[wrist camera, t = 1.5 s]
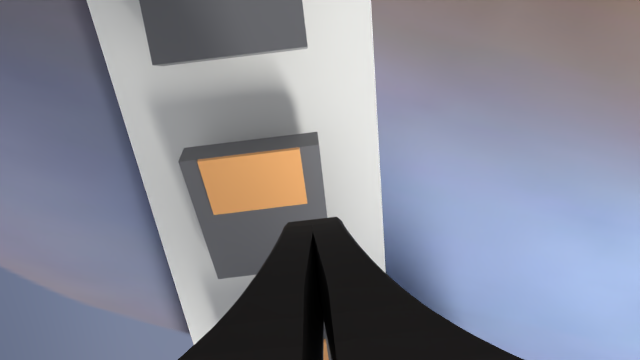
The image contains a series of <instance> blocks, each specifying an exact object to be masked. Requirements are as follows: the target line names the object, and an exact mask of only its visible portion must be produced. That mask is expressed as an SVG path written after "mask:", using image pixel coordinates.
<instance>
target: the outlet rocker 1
mask: <svg viewBox="0 0 640 360" xmlns="http://www.w3.org/2000/svg"><path fill="white" fill-rule="evenodd" d="M139 3H140V7H141V12H142V17H143V22H144V27H145V32H146V36H147V41H148V46H149V51H150V56H151V61H152V65H155V66H168V65H177V64H185V63H193V62H202V61H210V60H218V59H227V58H235V57H243V56H251V55H260V54H268V53H276V52H285V51H293V50H301V49H308V45H307V37H306V28H305V20H304V11H303V3H302V0H139Z"/></svg>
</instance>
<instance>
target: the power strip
mask: <svg viewBox="0 0 640 360" xmlns="http://www.w3.org/2000/svg"><path fill="white" fill-rule="evenodd" d="M87 3H88V7H89V10H90V13H91V16H92V19H93V23H94V26H95V29H96V32H97V36H98V39H99V42H100V45H101V48H102V52H103V55H104V58H105V61H106V64H107V68H108V71H109V74H110V77H111V81H112V84H113V87H114V90H115V93H116V97H117V100H118V103H119V106H120V109H121V113H122V116H123V119H124V122H125V126H126V129H127V132H128V135H129V138H130V142H131V145H132V148H133V151H134V154H135V158H136V161H137V164H138V167H139V171H140V174H141V177H142V180H143V183H144V187H145V190H146V193H147V196H148V199H149V203H150V206H151V209H152V212H153V216H154V219H155V222H156V225H157V228H158V232H159V235H160V238H161V241H162V244H163V248H164V251H165V254H166V257H167V261H168V264H169V267H170V270H171V273H172V277H173V280H174V283H175V286H176V289H177V293H178V296H179V299H180V302H181V306H182V309H183V312H184V315H185V318H186V322H187V325H188V328H189V331H190V334H191V338H192V341H193V344H196V343H197V342H198V341H199V340H200V339H201V338H202V337H203V336H204V335H205V334H206V333H207V332H209V331H210V330H211V329H212V328H213V327H214V326H215V325H216V324H217V323H218V321H219V320H220V319H221V318H222V317H223V316H224V315H225V314H226V313H227V312H228V310H229V309H230V308H231V307H232V306H233V305H234V303H235V302H236V301H237V300H238V298H239V297H240V296H241V295H242V293H243V292H244V291H245V289H246V288H247V287H248V285H249V284H250V283H251V281H252V280H253V278H254V277H255V276H256V275H249V276H241V277H232V278H224V279H218V277H217V274H216V271H215V268H214V265H213V262H212V259H211V257H210V254H209V251H208V248H207V245H206V242H205V239H204V236H203V233H202V230H201V227H200V224H199V221H198V218H197V215H196V212H195V209H194V207H193V204H192V201H191V198H190V195H189V192H188V189H187V186H186V183H185V180H184V177H183V174H182V171H181V168H180V165H179V162H178V161H179V159H180V156H181V154H182V151H183V149H184V148H187V147H195V146H203V145H212V144H220V143H228V142H236V141H245V140H253V139H261V138H269V137H278V136H286V135H294V134H302V133H311V132H317V133H318V140H319V148H320V157H321V166H322V175H323V183H324V192H325V201H326V210H327V218H329V217H338V218H339V219H340V220H342V222H343V224H344V226H345V227H346V229H347V230H348V232H349V233H350V234H351V236H352V237H353V238H354V240H355V241H356V242H357V243H358V244H359V246H360V247H361V248H362V249H363V250H364V251H365V252H366V254H367V255H368V256H369V257H370V258H371V259H372V260H373V261H374V262H375V263H376V264H377V265H378V266H379V267H380V268H381V269H382V270H383V271H384V272H385V273H386V269H385V251H384V232H383V214H382V196H381V177H380V159H379V141H378V123H377V104H376V86H375V68H374V49H373V31H372V13H371V0H302V3H303V11H304V20H305V28H306V37H307V45H308V49H301V50H293V51H285V52H276V53H268V54H260V55H251V56H243V57H235V58H227V59H218V60H210V61H202V62H193V63H185V64H177V65H168V66H155V65H152V61H151V56H150V51H149V46H148V41H147V36H146V32H145V27H144V22H143V17H142V12H141V7H140V3H139V0H87Z"/></svg>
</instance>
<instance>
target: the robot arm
mask: <svg viewBox="0 0 640 360" xmlns="http://www.w3.org/2000/svg"><path fill="white" fill-rule="evenodd" d="M324 325H325V330H326V335H327V340H328V345H329V350H330V355H331V360H524V359H521V358H519V357H517V356H514V355H512V354H510V353H508V352H506V351H504V350H502V349H500V348H498V347H496V346H494V345H492V344H490V343H488V342H486V341H484V340H482V339H480V338H478V337H476V336H474V335H472V334H471V333H469V332H467V331H465V330H463V329H462V328H460V327H458V326H457V325H455V324H453V323H452V322H450V321H448V320H447V319H445V318H444V317H442V316H440V315H439V314H437V313H435V312H434V311H432V310H431V309H429V308H428V307H426V306H425V305H424V304H422V303H421V302H419V301H418V300H417V299H416V298H414V297H413V296H412V295H410V294H409V293H408V292H407V291H405V290H404V289H403V288H402V287H400V286H399V285H398V284H397V283H396V282H395V281H394V280H392V279H391V278H390V277H389V276H388V275H387V274H386V273H385V272H384V271H383V270H382V269H381V268H380V267H379V266H378V265H377V264H376V263H375V262H374V261H373V260H372V259H371V258H370V257H369V256H368V255H367V254H366V252H365V251H364V250H363V249H362V248H361V247H360V246H359V244H358V243H357V242H356V241H355V240H354V238H353V237H352V236H351V234H350V233H349V232H348V230H347V229H346V227H345V226H344V224H343V222H342V220H340V219H339V218H338V217H329V218H321V219H312V220H303V221H294V222H288V223H287V224H286V225H285V226H284V228H283V230H282V232H281V234H280V236H279V238H278V240H277V242H276V244H275V246H274V247H273V249H272V251H271V253H270V254H269V256H268V257H267V259H266V261H265V262H264V264H263V265H262V267H261V268H260V270H259V271H258V273H257V274H256V276H255V277H254V278H253V280H252V281H251V283H250V284H249V285H248V287H247V288H246V289H245V291H244V292H243V293H242V295H241V296H240V297H239V298H238V300H237V301H236V302H235V303H234V305H233V306H232V307H231V308H230V309H229V310H228V312H227V313H226V314H225V315H224V316H223V317H222V318H221V319H220V320H219V321H218V323H217V324H216V325H215V326H214V327H213V328H212V329H211V330H210V331H209V332H207V333H206V334H205V335H204V336H203V337H202V338H201V339H200V340H199V341H198V342H197V343H196V344H194V345H193V346H192V347H191V348H190V349H189V350H188V351H187V352H186V353H185V354H184V355H183V356H181V357H180V358H179V359H178V360H323V349H324Z"/></svg>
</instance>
